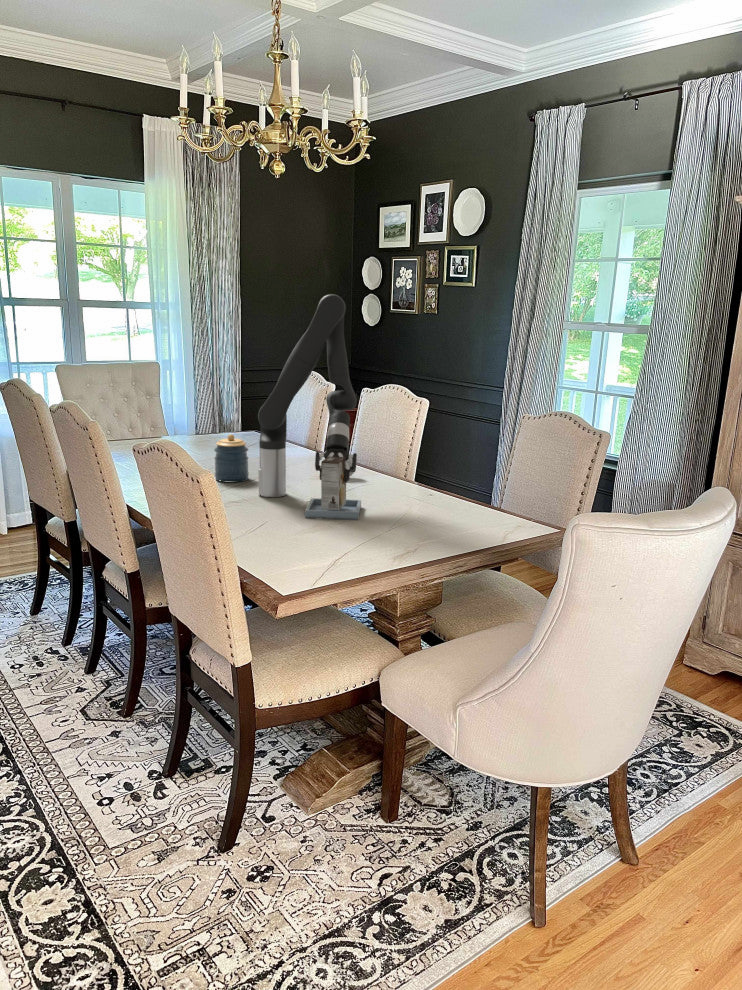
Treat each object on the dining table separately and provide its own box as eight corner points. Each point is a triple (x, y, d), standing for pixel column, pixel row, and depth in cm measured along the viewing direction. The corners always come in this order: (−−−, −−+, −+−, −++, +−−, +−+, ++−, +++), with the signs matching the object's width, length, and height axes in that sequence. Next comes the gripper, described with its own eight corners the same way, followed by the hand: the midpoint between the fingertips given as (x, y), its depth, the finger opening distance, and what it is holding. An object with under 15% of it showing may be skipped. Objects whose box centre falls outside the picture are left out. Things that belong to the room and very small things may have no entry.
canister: (208, 480, 287) (207, 435, 283) (226, 474, 299) (224, 430, 295) (238, 484, 283) (237, 438, 279) (254, 477, 295) (254, 433, 290)
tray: (305, 518, 240) (305, 510, 239) (311, 505, 256) (311, 498, 255) (357, 520, 239) (358, 512, 239) (361, 507, 255) (361, 500, 254)
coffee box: (327, 502, 252) (328, 455, 248) (346, 503, 251) (346, 456, 247) (320, 509, 243) (320, 461, 239) (339, 511, 242) (340, 462, 238)
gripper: (315, 432, 250) (311, 474, 242) (358, 433, 249) (355, 475, 241) (317, 445, 256) (313, 486, 248) (359, 446, 256) (356, 487, 247)
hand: (334, 480), depth 244 cm, fingers closed on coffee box, 7 cm apart
